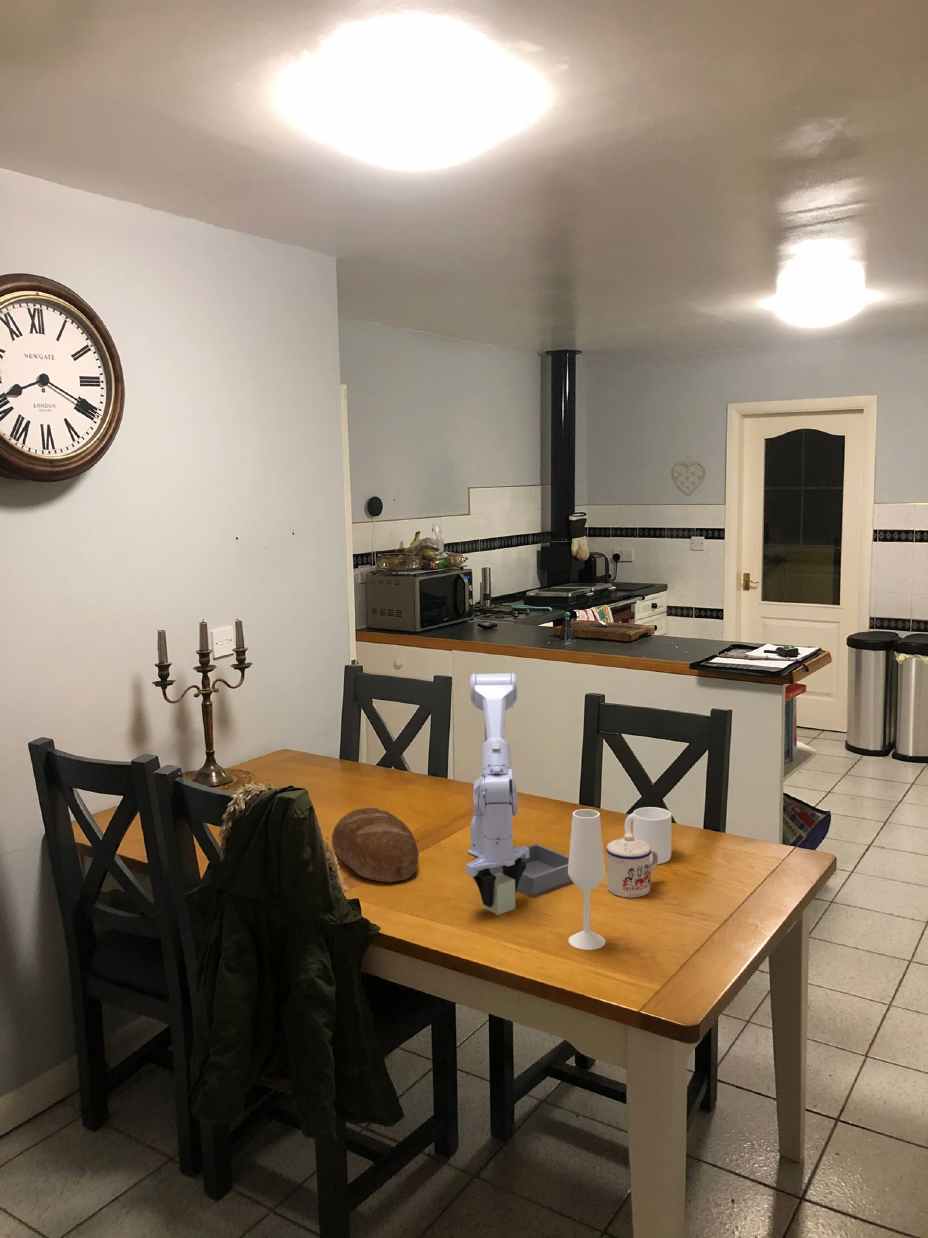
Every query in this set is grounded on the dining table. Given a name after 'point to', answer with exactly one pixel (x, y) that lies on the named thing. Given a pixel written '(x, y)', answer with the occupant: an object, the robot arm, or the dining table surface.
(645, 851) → the teacup with lid
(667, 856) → the mug
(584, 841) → the champagne flute
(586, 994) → the dining table surface
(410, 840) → the bread
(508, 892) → the block
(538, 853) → the bin
